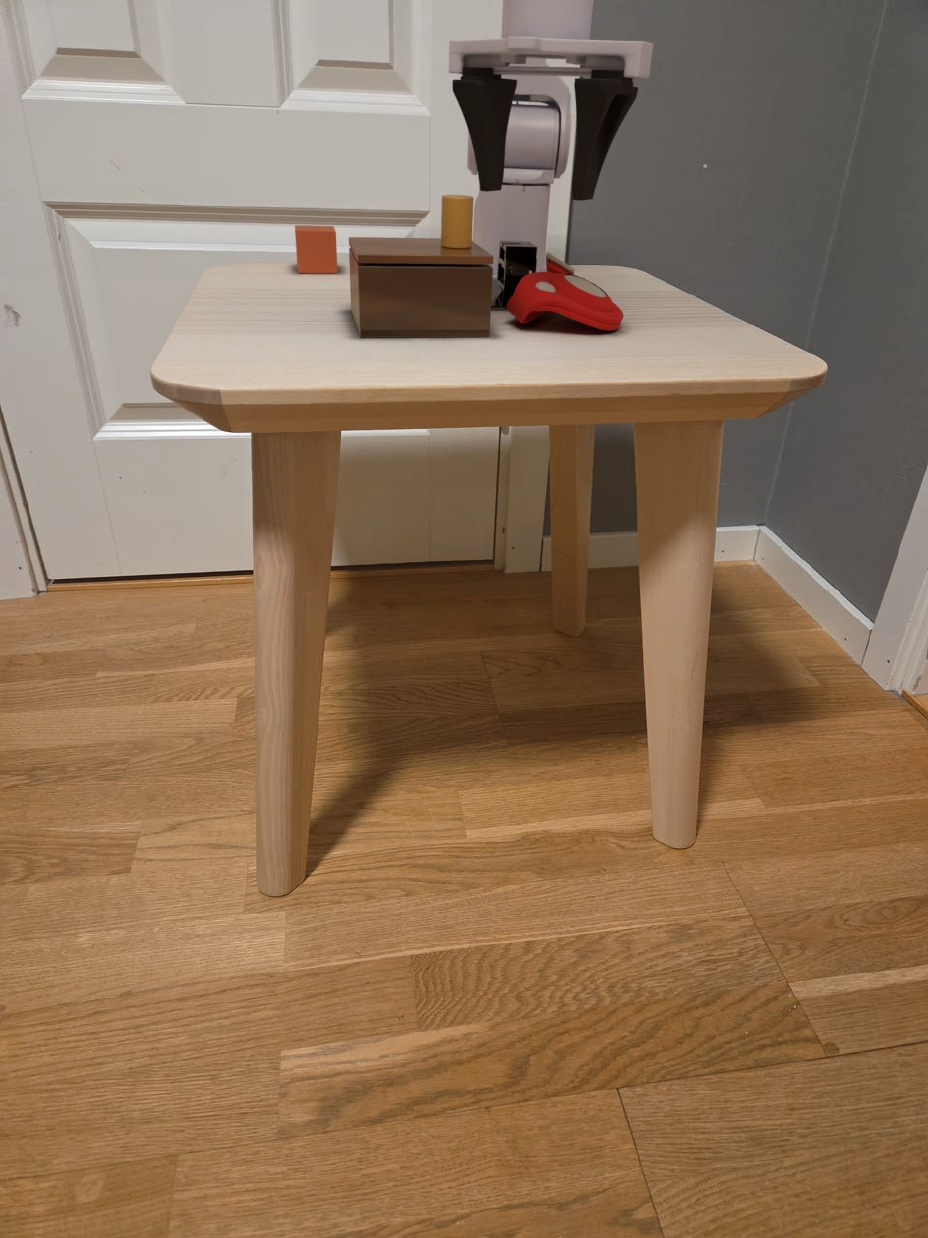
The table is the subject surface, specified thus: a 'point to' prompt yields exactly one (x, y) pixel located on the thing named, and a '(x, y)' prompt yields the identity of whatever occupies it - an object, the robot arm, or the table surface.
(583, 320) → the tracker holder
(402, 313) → the walnut box
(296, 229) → the terracotta block
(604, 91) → the robot arm
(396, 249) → the slide lid
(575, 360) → the table surface
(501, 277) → the black rack
